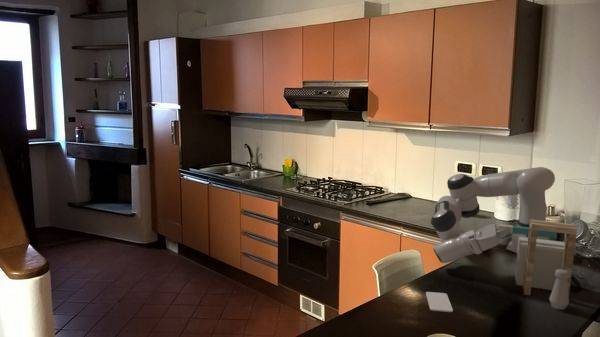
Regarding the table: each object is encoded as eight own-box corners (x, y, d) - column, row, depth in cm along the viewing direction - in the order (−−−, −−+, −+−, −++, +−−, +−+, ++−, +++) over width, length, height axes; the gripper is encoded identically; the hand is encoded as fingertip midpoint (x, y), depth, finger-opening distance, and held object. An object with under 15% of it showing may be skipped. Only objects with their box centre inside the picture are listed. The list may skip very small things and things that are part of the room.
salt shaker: (551, 302, 169) (555, 266, 167) (569, 307, 165) (574, 270, 163) (546, 307, 164) (551, 270, 162) (565, 312, 161) (570, 274, 159)
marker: (498, 230, 189) (498, 224, 189) (555, 236, 182) (556, 230, 182) (498, 231, 187) (498, 225, 187) (556, 238, 180) (557, 232, 180)
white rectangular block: (514, 275, 193) (518, 236, 191) (559, 282, 188) (564, 242, 185) (516, 284, 184) (520, 243, 181) (564, 291, 178) (569, 249, 176)
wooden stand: (522, 287, 181) (530, 219, 177) (564, 293, 176) (573, 224, 173) (524, 294, 175) (531, 223, 171) (568, 301, 170) (577, 228, 166)
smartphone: (446, 293, 173) (453, 311, 158) (446, 295, 173) (453, 313, 158) (425, 291, 174) (430, 309, 159) (425, 293, 174) (430, 311, 159)
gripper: (478, 241, 201) (511, 228, 196) (477, 256, 182) (514, 242, 177) (471, 227, 201) (504, 214, 196) (470, 240, 182) (506, 226, 177)
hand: (509, 227), depth 187 cm, fingers closed on marker, 2 cm apart
